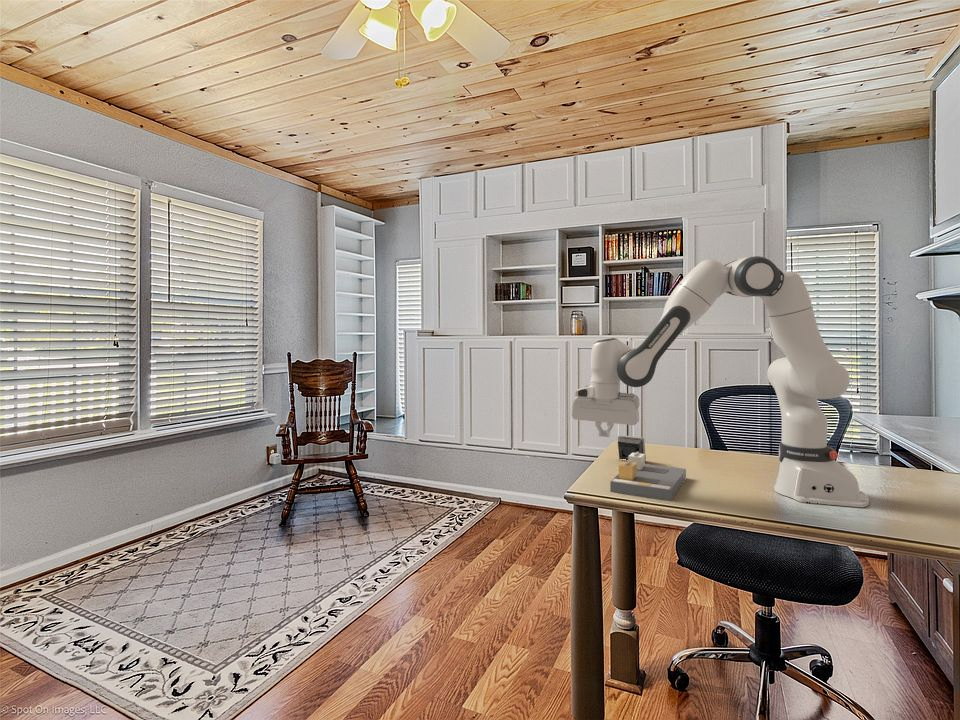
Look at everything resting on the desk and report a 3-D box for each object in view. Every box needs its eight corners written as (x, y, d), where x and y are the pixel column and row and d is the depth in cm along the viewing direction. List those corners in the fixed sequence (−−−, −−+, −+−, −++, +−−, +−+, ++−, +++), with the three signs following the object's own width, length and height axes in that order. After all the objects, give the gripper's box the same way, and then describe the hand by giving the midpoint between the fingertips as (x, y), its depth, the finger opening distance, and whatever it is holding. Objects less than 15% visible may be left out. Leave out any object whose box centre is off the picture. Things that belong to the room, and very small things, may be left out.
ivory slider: (644, 466, 170) (644, 452, 169) (640, 470, 165) (641, 455, 165) (632, 464, 172) (632, 450, 171) (628, 468, 167) (628, 454, 167)
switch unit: (685, 478, 167) (686, 467, 166) (670, 500, 146) (670, 489, 146) (632, 471, 175) (632, 461, 175) (610, 491, 155) (610, 480, 155)
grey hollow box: (646, 461, 188) (645, 436, 186) (642, 465, 183) (641, 440, 182) (620, 457, 193) (619, 433, 191) (615, 462, 189) (615, 437, 187)
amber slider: (636, 475, 159) (636, 461, 159) (632, 480, 155) (632, 465, 154) (623, 474, 161) (623, 459, 161) (618, 478, 157) (618, 463, 157)
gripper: (642, 392, 157) (641, 438, 158) (577, 388, 168) (576, 431, 169) (636, 395, 152) (635, 442, 153) (569, 390, 162) (569, 434, 163)
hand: (604, 436), depth 161 cm, fingers closed
